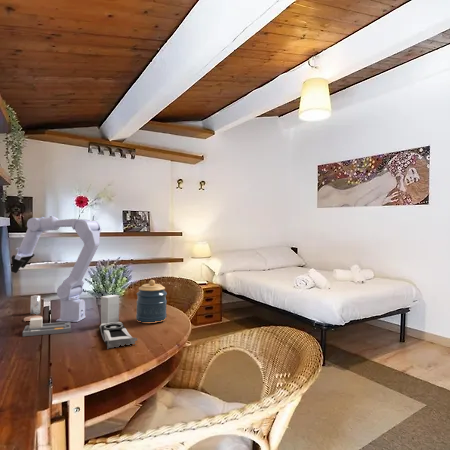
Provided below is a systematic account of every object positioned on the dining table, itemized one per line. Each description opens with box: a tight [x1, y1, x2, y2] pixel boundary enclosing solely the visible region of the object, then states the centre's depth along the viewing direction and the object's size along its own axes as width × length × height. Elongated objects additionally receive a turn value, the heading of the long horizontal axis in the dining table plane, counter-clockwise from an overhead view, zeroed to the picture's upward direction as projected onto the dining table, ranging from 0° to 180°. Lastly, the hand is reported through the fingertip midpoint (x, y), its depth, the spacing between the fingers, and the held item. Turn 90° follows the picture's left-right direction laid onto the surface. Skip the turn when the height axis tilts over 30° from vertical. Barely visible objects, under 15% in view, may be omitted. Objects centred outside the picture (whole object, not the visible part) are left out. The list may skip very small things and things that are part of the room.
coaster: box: [23, 315, 43, 322], centre depth 155 cm, size 7×7×1 cm
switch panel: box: [22, 321, 72, 337], centre depth 139 cm, size 16×9×2 cm, turn 113°
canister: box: [135, 279, 168, 322], centre depth 157 cm, size 13×13×18 cm
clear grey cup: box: [30, 294, 42, 315], centre depth 165 cm, size 4×4×8 cm
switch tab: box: [29, 316, 44, 328], centre depth 137 cm, size 4×4×3 cm
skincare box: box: [100, 294, 120, 325], centre depth 148 cm, size 6×4×12 cm
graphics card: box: [98, 321, 138, 350], centre depth 133 cm, size 10×3×25 cm
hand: (17, 269), depth 162 cm, fingers open, 7 cm apart
